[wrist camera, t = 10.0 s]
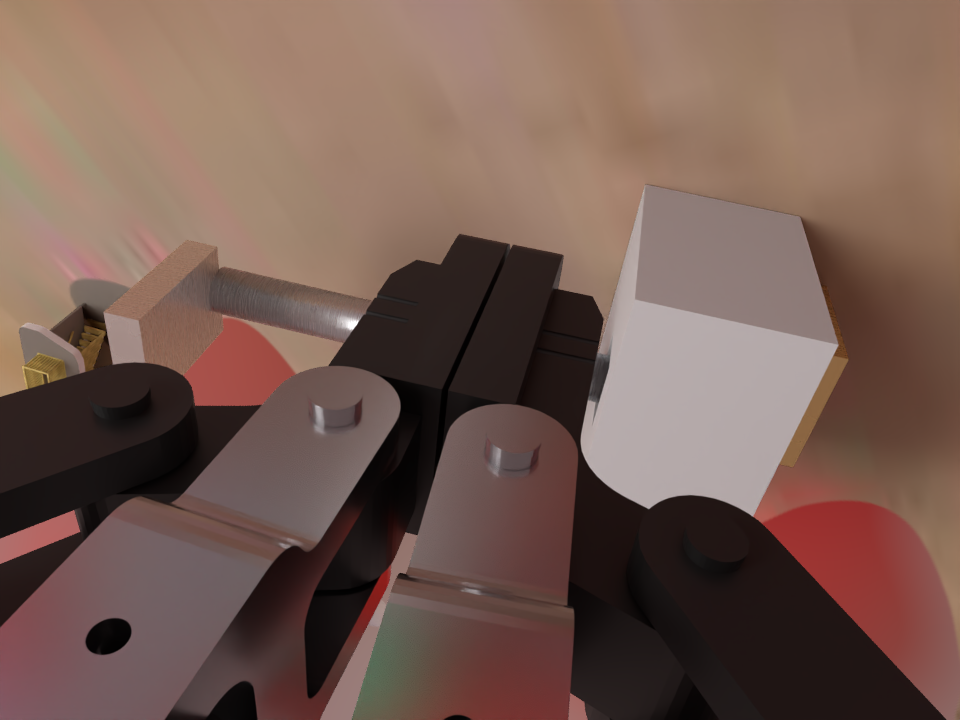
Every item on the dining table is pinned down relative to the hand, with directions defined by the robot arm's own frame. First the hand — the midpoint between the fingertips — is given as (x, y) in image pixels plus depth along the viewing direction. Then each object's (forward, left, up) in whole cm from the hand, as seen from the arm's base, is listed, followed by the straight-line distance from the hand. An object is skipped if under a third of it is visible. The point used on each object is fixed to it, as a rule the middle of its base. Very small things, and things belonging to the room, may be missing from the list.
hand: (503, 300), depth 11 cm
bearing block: (-8, +17, -30) cm, 35 cm away
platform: (+31, +30, -31) cm, 53 cm away
